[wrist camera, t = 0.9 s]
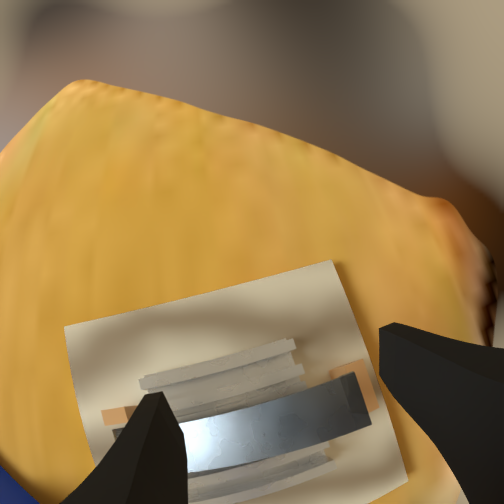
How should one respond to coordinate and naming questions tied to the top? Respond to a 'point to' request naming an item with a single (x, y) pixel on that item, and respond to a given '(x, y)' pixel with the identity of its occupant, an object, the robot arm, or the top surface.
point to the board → (233, 341)
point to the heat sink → (233, 398)
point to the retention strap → (275, 425)
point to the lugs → (356, 366)
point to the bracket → (13, 491)
